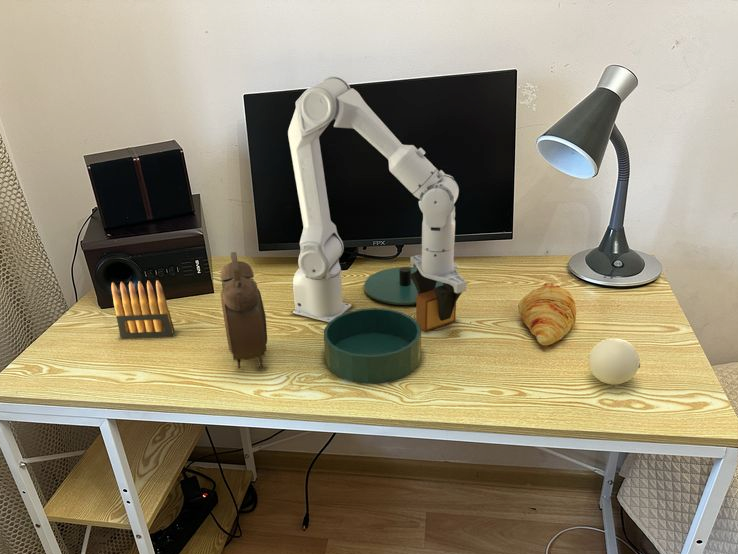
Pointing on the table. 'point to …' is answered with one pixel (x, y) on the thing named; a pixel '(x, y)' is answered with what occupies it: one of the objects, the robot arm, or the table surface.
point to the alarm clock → (243, 312)
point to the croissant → (548, 313)
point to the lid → (393, 286)
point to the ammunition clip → (142, 312)
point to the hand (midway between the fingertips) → (436, 312)
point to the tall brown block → (430, 311)
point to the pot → (372, 345)
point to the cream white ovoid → (614, 361)
